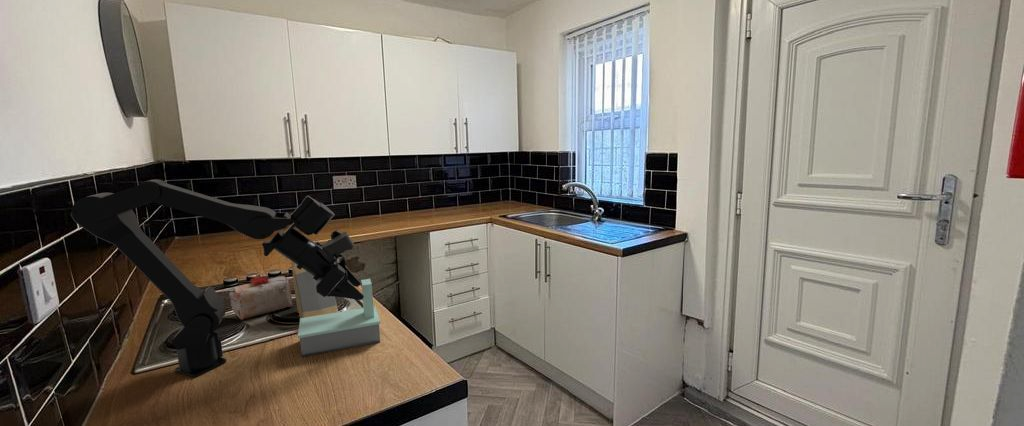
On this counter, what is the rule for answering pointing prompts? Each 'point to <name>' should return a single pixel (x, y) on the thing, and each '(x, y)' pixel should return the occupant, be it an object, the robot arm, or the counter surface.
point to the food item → (261, 296)
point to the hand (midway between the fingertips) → (360, 291)
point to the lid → (342, 317)
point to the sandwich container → (310, 295)
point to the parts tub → (339, 340)
